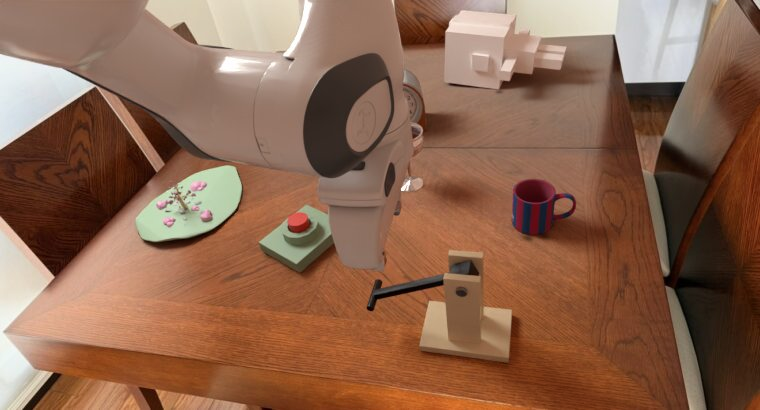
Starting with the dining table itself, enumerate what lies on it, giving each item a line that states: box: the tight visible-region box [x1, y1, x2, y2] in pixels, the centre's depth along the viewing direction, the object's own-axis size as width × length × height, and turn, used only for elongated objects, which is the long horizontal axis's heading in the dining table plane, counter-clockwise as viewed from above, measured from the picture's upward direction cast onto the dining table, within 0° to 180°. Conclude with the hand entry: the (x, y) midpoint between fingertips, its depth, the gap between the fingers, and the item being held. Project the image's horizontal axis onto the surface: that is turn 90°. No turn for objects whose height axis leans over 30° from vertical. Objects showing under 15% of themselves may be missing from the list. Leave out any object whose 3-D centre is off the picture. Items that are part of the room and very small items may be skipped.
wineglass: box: [402, 123, 425, 193], centre depth 95 cm, size 7×7×12 cm
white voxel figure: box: [443, 9, 567, 90], centre depth 124 cm, size 15×25×28 cm
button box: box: [258, 204, 334, 274], centre depth 89 cm, size 12×10×4 cm
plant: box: [134, 164, 243, 243], centre depth 101 cm, size 25×21×9 cm
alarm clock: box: [403, 68, 428, 132], centre depth 112 cm, size 15×8×14 cm, turn 92°
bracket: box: [418, 249, 513, 364], centre depth 67 cm, size 12×8×14 cm, turn 76°
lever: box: [365, 261, 479, 312], centre depth 67 cm, size 16×5×2 cm, turn 76°
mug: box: [511, 178, 577, 236], centre depth 83 cm, size 7×10×7 cm
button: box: [287, 212, 310, 233], centre depth 87 cm, size 4×4×2 cm
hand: (386, 237), depth 60 cm, fingers open, 8 cm apart
